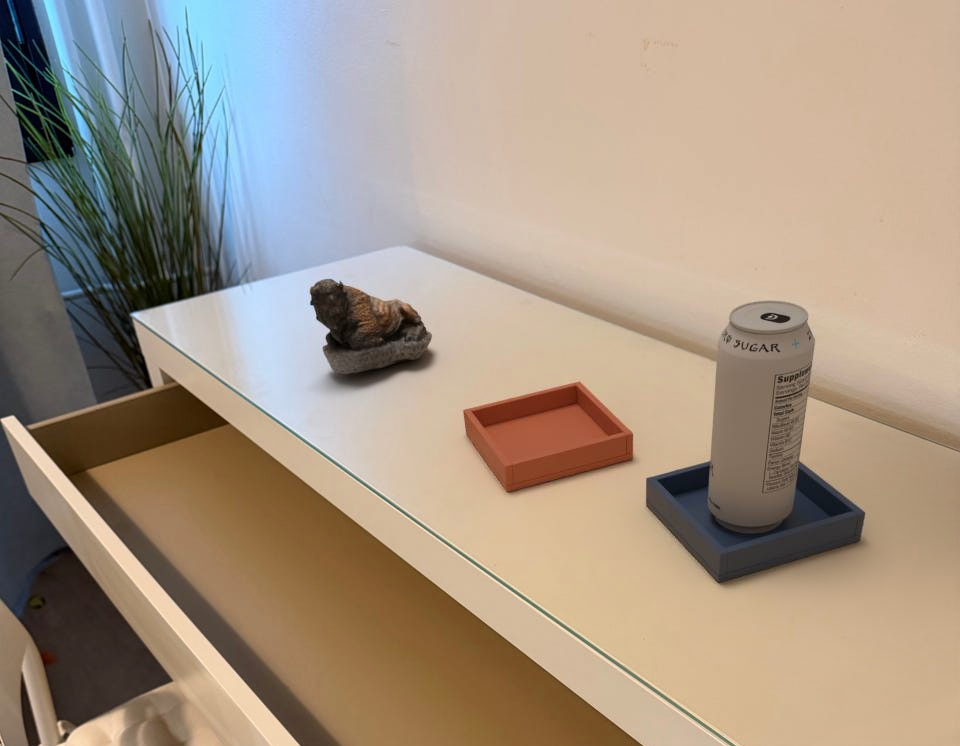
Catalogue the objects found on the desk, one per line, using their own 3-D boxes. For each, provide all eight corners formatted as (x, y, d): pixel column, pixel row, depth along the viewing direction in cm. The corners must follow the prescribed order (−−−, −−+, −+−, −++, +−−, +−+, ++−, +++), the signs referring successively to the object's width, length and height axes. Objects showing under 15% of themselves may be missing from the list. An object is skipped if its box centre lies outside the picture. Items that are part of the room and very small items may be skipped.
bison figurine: (415, 340, 101) (401, 245, 95) (448, 360, 97) (435, 261, 90) (316, 374, 97) (294, 277, 91) (344, 396, 92) (323, 295, 86)
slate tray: (773, 469, 74) (776, 442, 72) (860, 541, 66) (866, 512, 64) (645, 504, 72) (645, 477, 70) (718, 583, 64) (720, 554, 62)
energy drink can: (735, 485, 72) (752, 290, 62) (807, 509, 68) (836, 307, 59) (690, 520, 69) (700, 322, 59) (762, 547, 65) (786, 341, 56)
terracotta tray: (580, 405, 86) (579, 380, 84) (633, 459, 77) (633, 433, 76) (465, 434, 84) (462, 409, 82) (507, 492, 76) (504, 466, 74)
